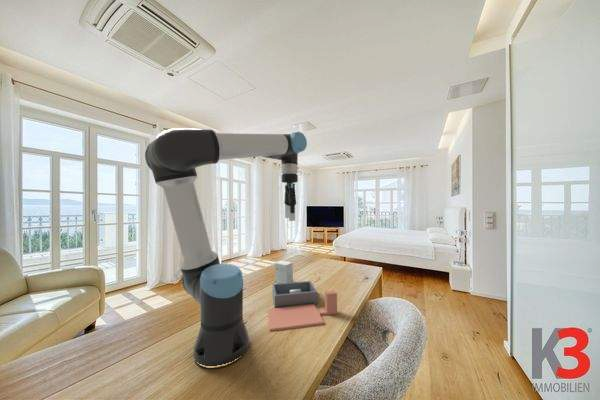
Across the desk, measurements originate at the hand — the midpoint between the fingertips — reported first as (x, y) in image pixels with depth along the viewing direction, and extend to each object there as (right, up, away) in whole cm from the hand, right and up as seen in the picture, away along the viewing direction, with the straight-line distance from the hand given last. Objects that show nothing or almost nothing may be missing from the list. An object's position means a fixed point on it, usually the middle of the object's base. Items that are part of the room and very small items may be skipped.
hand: (289, 219), depth 98 cm
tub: (+2, -35, -6) cm, 35 cm away
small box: (-4, -35, +14) cm, 38 cm away
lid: (+6, -35, -19) cm, 40 cm away
